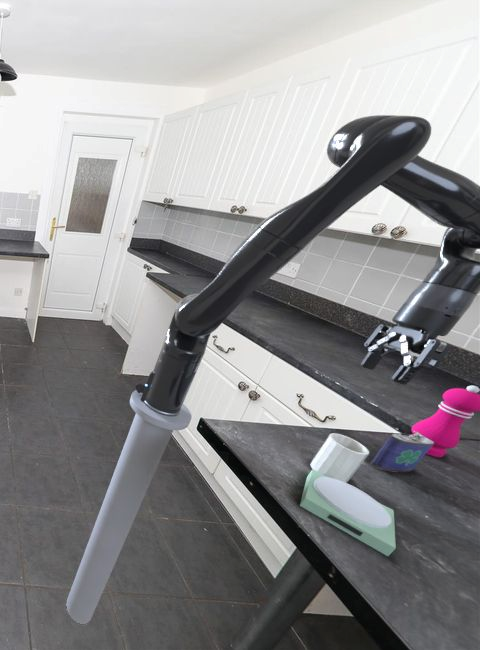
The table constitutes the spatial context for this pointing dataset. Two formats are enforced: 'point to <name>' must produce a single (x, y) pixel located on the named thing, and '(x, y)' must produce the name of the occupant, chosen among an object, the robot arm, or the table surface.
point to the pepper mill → (449, 419)
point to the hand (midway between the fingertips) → (380, 374)
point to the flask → (402, 452)
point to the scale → (350, 511)
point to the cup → (339, 457)
